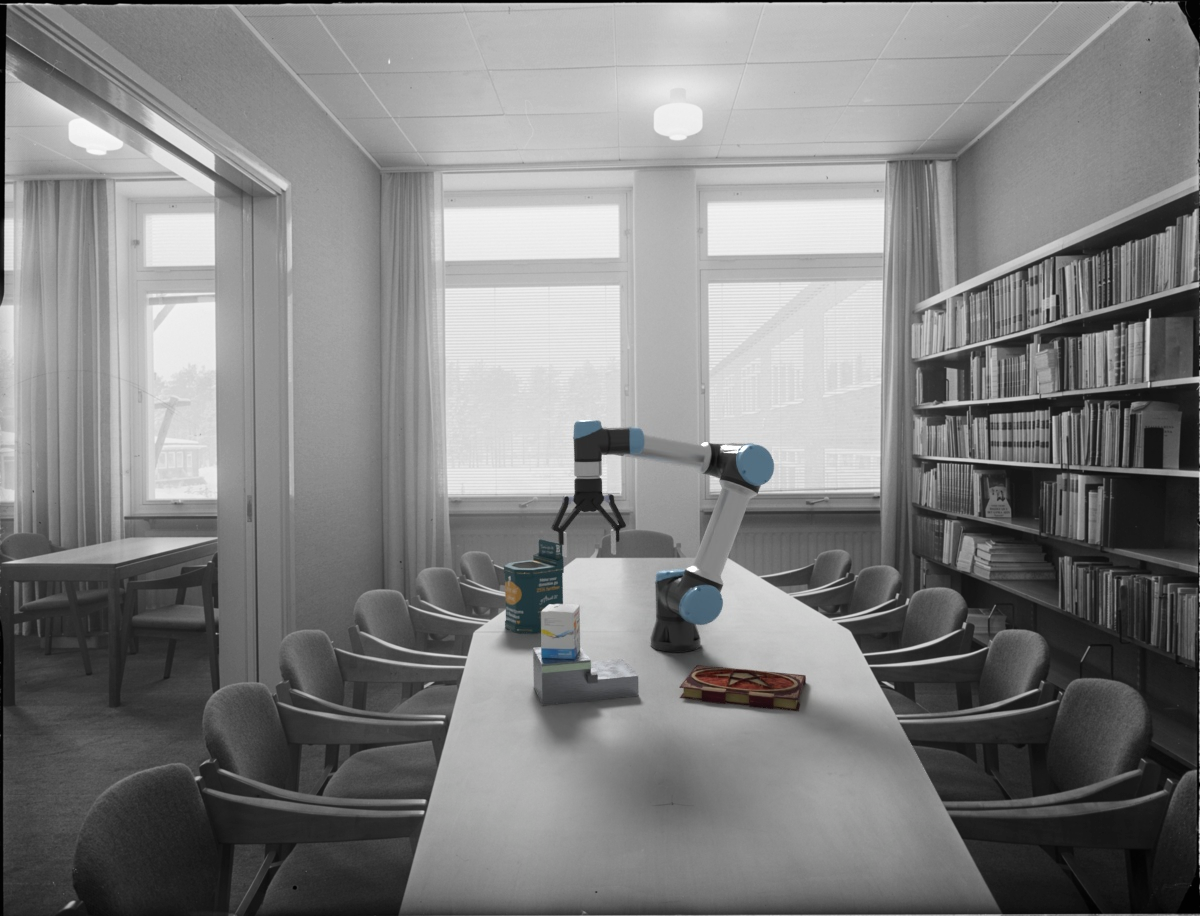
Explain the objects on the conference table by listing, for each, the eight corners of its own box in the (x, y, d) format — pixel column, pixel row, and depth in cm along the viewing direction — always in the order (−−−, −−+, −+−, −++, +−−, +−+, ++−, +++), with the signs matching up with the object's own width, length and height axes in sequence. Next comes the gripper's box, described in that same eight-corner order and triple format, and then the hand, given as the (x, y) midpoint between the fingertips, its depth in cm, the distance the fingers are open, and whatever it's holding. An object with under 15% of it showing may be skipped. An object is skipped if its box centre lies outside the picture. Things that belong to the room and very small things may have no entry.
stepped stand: (623, 677, 198) (623, 640, 198) (641, 698, 182) (640, 658, 182) (533, 686, 192) (533, 647, 192) (543, 708, 177) (543, 667, 176)
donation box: (564, 627, 248) (563, 544, 247) (521, 636, 239) (520, 549, 238) (540, 618, 262) (539, 538, 261) (499, 625, 253) (497, 543, 252)
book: (805, 687, 192) (805, 667, 192) (798, 714, 172) (798, 693, 172) (697, 676, 202) (697, 657, 202) (678, 701, 182) (678, 681, 182)
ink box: (574, 659, 182) (573, 612, 181) (540, 658, 183) (539, 611, 182) (581, 649, 190) (580, 603, 190) (548, 648, 191) (548, 602, 191)
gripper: (628, 475, 209) (629, 550, 209) (540, 477, 203) (541, 555, 204) (636, 476, 201) (637, 555, 202) (544, 479, 195) (546, 560, 196)
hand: (589, 555), depth 203 cm, fingers open, 13 cm apart
